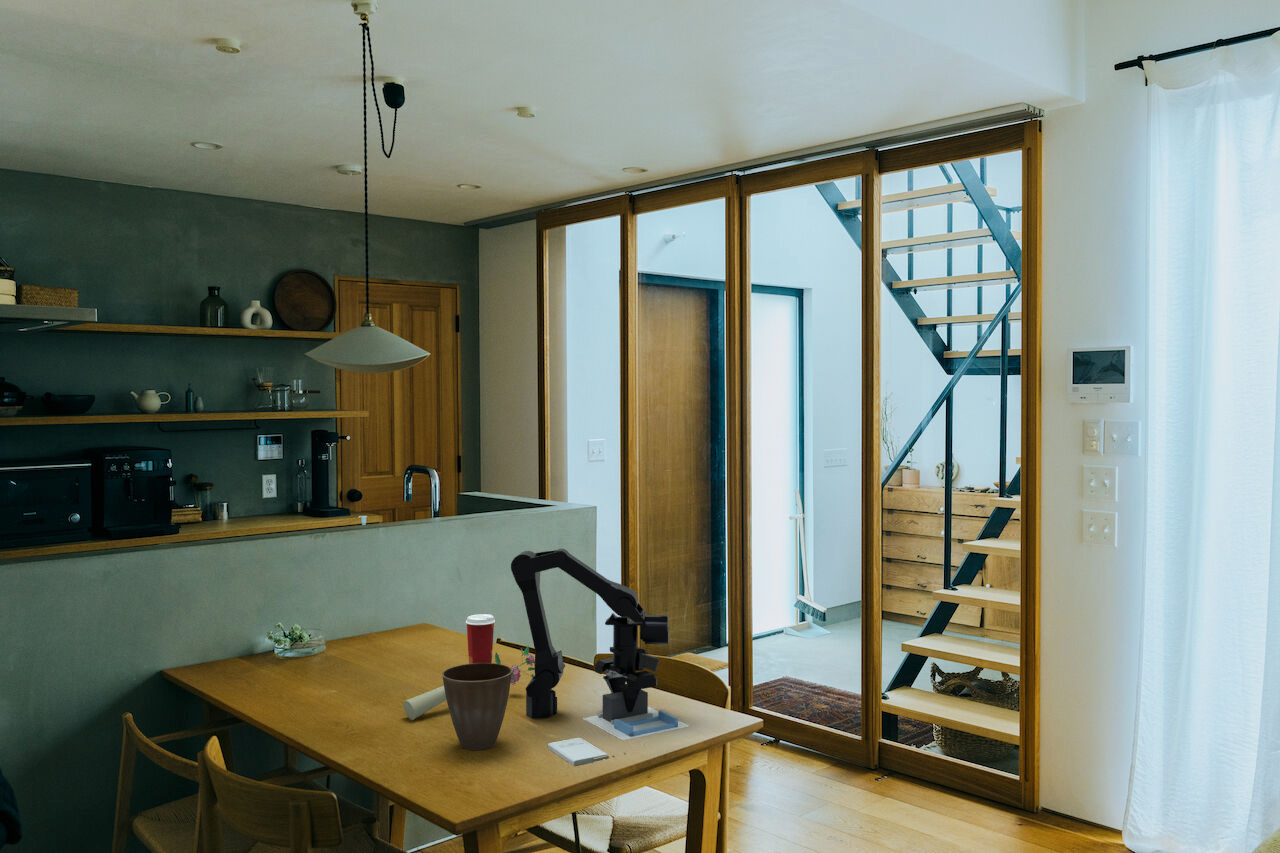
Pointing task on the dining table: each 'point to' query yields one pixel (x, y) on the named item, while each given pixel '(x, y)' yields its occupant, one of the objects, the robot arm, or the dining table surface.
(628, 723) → the board
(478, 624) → the coffee cup
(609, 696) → the dark gray block
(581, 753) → the external hard drive
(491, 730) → the plant pot
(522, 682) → the dining table surface
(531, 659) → the flower vase
